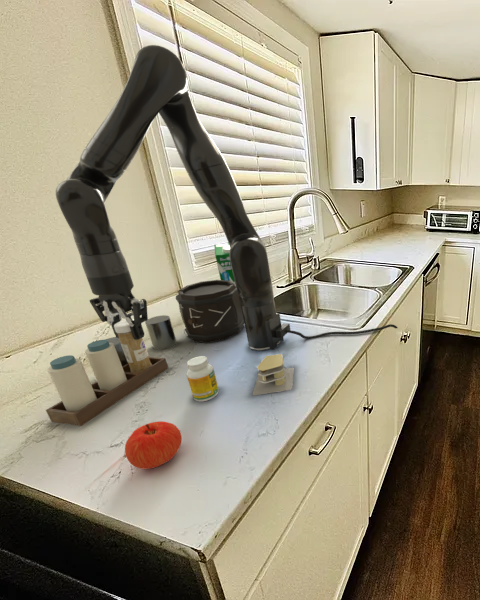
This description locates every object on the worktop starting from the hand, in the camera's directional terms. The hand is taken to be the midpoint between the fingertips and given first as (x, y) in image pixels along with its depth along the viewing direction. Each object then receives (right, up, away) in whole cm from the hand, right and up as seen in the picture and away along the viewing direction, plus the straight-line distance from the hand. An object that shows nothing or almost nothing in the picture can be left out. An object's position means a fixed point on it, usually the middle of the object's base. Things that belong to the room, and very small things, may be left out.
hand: (130, 337), depth 81 cm
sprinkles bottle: (0, -9, +3) cm, 10 cm away
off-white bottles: (-2, -14, -6) cm, 15 cm away
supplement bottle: (+21, -14, -3) cm, 25 cm away
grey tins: (-6, -7, +13) cm, 16 cm away
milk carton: (+4, +6, +47) cm, 47 cm away
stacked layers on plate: (+35, -12, +2) cm, 37 cm away
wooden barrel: (+6, -2, +28) cm, 28 cm away
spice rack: (-1, -13, -2) cm, 14 cm away
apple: (+23, -20, -21) cm, 37 cm away
